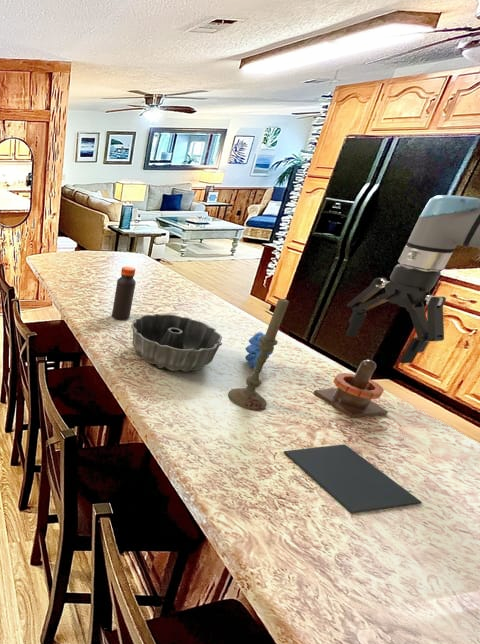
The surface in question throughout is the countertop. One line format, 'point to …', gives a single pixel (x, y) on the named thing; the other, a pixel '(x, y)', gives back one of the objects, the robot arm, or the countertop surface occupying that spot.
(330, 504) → the countertop surface
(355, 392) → the ring
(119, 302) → the bottle
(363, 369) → the stand
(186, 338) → the bundt pan
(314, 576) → the countertop surface
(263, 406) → the candlestick holder
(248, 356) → the grapes
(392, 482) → the mat
